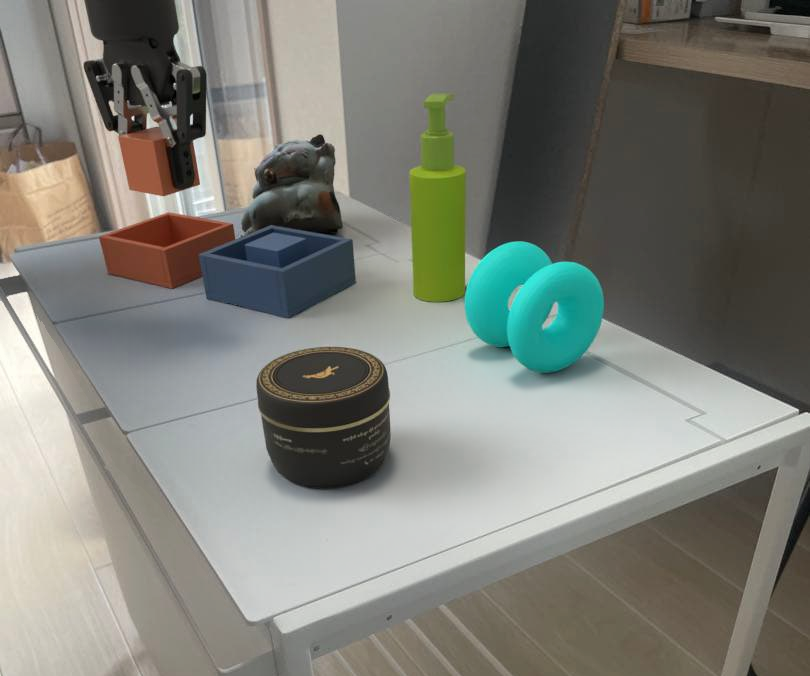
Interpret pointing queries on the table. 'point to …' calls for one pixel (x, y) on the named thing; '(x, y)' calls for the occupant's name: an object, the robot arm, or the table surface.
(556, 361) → the donuts
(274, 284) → the blue bin
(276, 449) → the jar
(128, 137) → the terracotta block
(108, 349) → the table surface
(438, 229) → the soap dispenser
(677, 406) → the table surface
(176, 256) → the terracotta bin
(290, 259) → the blue block
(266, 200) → the lucky cat figurine
